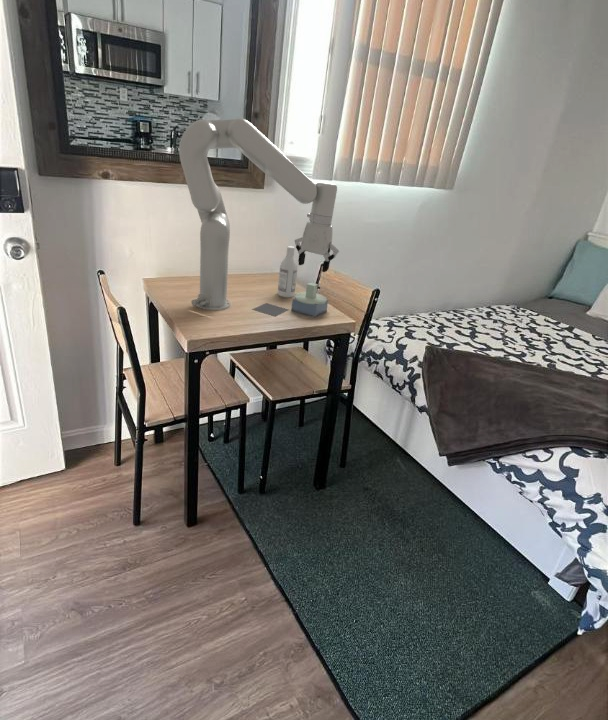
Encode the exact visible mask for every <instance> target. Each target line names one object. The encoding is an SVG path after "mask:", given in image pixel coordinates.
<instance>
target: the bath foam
mask: <svg viewBox="0 0 608 720" xmlns="http://www.w3.org/2000/svg"><path fill="white" fill-rule="evenodd" d="M295 249H296V246H293V245H288V246H287V247H286V255H285V256H284V258H283V259H282V261H280V266H279V272H278V273H279V276H278V285H277V296H280V297H282V298H294V297H295V294H296V293H295V292H296V283H297V276H298V263H297V260H296V259H295Z"/></svg>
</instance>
